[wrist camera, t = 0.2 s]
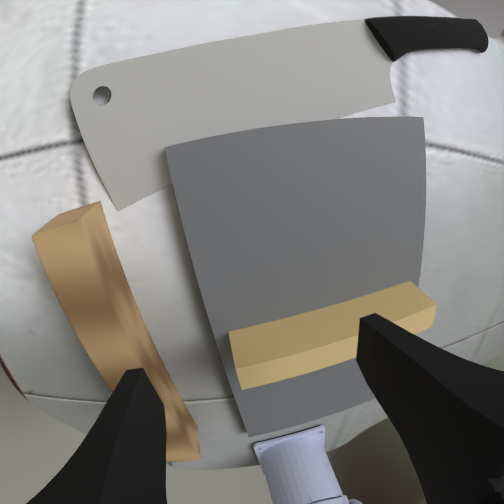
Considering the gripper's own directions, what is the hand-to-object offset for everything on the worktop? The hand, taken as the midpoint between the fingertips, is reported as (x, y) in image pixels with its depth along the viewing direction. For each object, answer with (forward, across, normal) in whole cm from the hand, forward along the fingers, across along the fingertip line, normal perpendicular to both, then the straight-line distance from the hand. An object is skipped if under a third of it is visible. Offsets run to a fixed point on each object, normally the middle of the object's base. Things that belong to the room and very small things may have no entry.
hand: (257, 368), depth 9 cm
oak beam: (+10, +8, +6) cm, 14 cm away
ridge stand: (+10, -6, +6) cm, 13 cm away
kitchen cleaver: (+10, -9, -10) cm, 17 cm away
